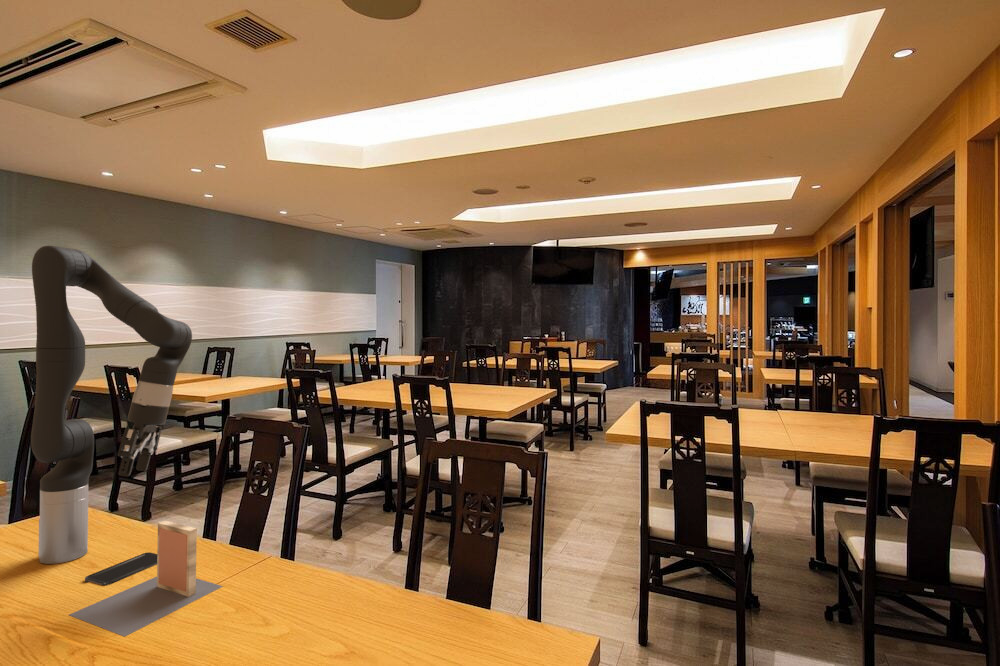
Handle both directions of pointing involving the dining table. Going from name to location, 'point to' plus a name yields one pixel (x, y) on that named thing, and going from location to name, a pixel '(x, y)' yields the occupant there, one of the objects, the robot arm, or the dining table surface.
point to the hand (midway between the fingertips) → (132, 473)
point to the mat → (139, 606)
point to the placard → (176, 558)
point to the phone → (123, 569)
